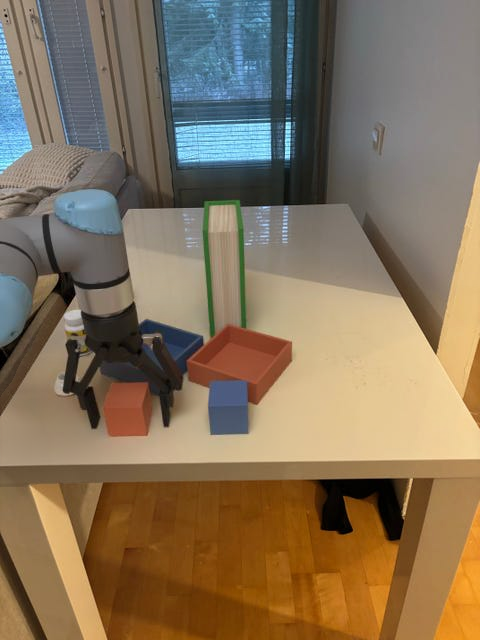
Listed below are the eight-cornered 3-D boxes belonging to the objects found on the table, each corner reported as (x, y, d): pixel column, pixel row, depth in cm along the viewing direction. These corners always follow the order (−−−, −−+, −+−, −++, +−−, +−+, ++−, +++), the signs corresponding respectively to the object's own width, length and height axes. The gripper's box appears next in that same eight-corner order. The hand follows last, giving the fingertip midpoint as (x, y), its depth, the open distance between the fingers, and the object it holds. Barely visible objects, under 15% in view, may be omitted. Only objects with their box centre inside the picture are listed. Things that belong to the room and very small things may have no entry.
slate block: (210, 434, 73) (208, 406, 70) (212, 409, 78) (210, 381, 75) (248, 434, 73) (247, 405, 70) (247, 408, 78) (247, 380, 75)
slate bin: (100, 373, 88) (96, 354, 86) (148, 336, 98) (146, 318, 96) (160, 396, 82) (157, 376, 79) (204, 354, 92) (203, 335, 90)
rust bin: (188, 380, 85) (186, 360, 83) (228, 342, 96) (227, 323, 93) (256, 405, 79) (256, 384, 77) (291, 361, 89) (292, 341, 87)
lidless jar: (84, 393, 83) (83, 377, 87) (81, 380, 81) (80, 364, 85) (55, 400, 82) (55, 383, 86) (51, 387, 80) (51, 370, 84)
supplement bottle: (91, 356, 93) (82, 320, 88) (67, 357, 93) (57, 321, 88) (97, 343, 97) (89, 308, 92) (75, 343, 97) (66, 308, 93)
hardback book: (246, 339, 96) (243, 228, 84) (210, 341, 96) (202, 230, 84) (242, 299, 111) (239, 199, 99) (211, 300, 111) (204, 201, 99)
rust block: (109, 436, 74) (102, 408, 71) (117, 410, 79) (111, 383, 76) (146, 435, 74) (141, 407, 71) (152, 409, 79) (148, 382, 76)
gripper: (193, 289, 68) (204, 404, 79) (34, 294, 68) (67, 408, 79) (189, 316, 61) (201, 436, 73) (12, 321, 62) (52, 440, 73)
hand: (131, 421), depth 76 cm, fingers open, 11 cm apart
